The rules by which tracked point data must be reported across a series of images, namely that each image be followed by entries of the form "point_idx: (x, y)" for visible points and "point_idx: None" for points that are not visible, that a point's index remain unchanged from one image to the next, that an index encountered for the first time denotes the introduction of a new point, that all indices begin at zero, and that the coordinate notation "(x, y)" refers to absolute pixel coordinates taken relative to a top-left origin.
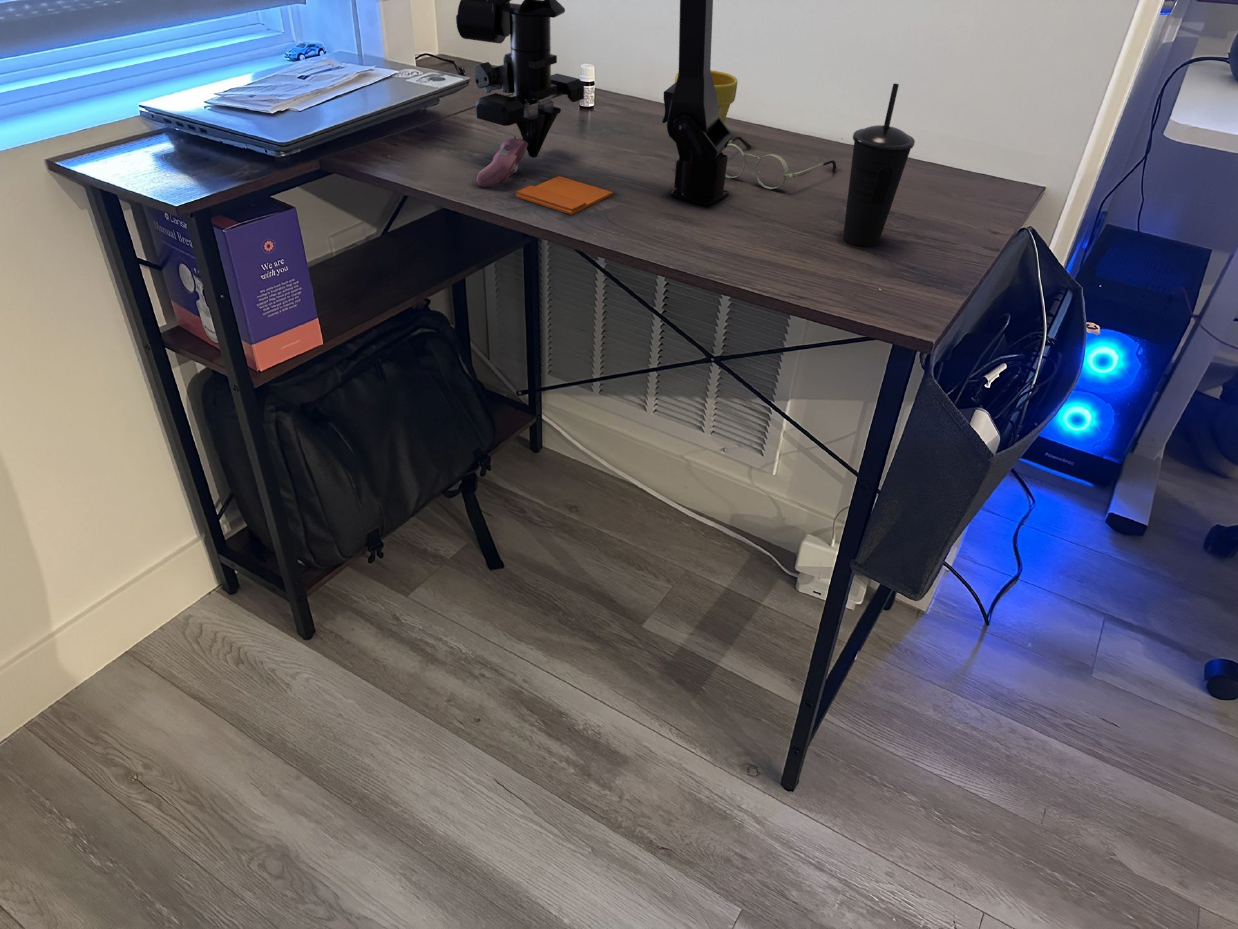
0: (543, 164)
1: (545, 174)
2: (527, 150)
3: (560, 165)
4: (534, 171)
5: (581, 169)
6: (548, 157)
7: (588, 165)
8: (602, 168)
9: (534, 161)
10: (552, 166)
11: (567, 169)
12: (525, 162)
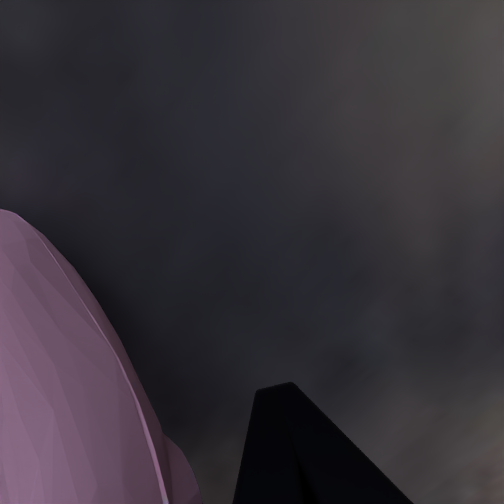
0: (349, 335)
1: (233, 454)
2: (248, 430)
3: (406, 390)
4: (213, 399)
5: (428, 468)
6: (480, 252)
7: (497, 444)
8: (499, 490)
9: (351, 263)
10: (361, 383)
11: (381, 445)
12: (286, 244)
